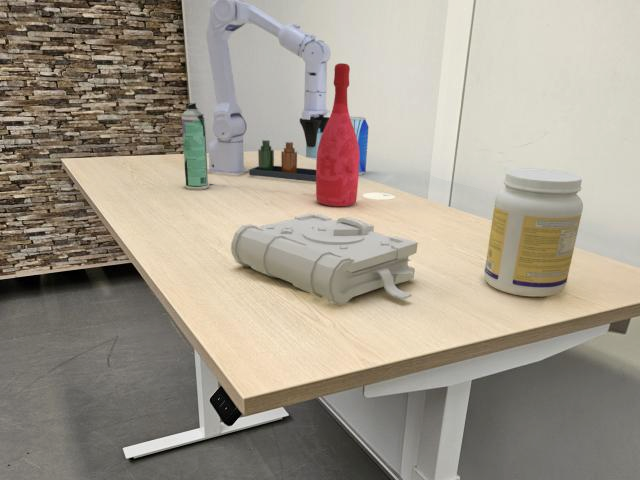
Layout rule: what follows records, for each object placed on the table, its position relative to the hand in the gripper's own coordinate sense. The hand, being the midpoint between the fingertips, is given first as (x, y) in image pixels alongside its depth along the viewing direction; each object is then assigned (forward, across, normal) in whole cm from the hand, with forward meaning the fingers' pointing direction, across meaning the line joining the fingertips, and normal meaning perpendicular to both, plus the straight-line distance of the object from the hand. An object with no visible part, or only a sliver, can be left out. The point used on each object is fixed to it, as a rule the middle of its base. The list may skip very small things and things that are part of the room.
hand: (314, 145), depth 156 cm
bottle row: (+9, 0, +11) cm, 14 cm away
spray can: (+10, -24, +23) cm, 34 cm away
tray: (+9, 0, +7) cm, 12 cm away
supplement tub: (+10, -63, -57) cm, 86 cm away
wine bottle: (+10, -24, -14) cm, 29 cm away
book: (+10, -72, -29) cm, 79 cm away
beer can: (+10, +14, -7) cm, 18 cm away
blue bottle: (+3, 0, 0) cm, 3 cm away
